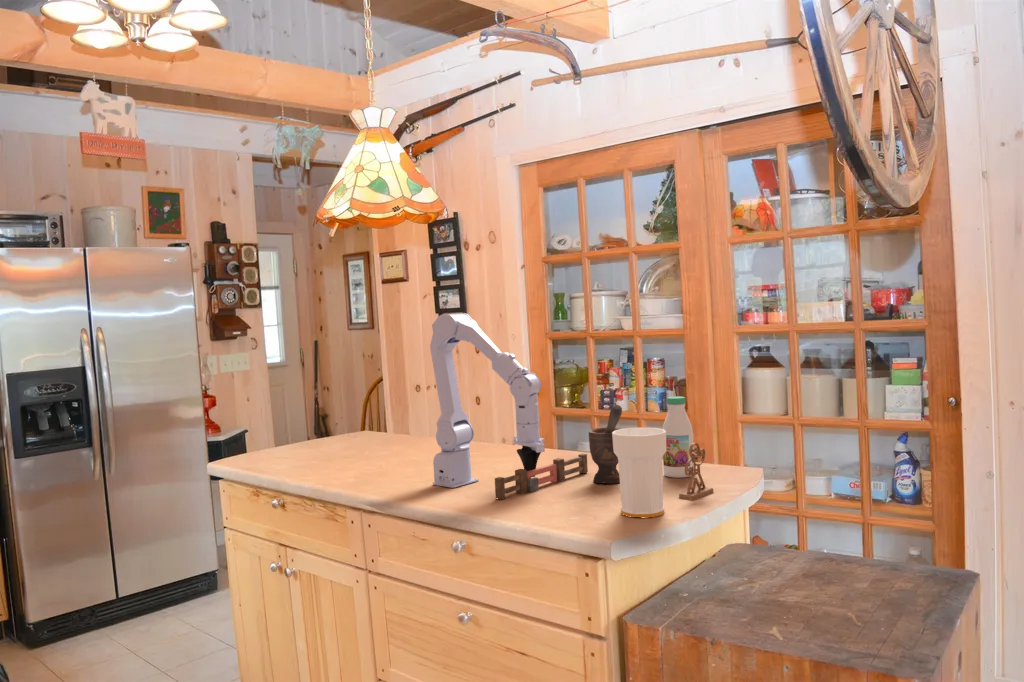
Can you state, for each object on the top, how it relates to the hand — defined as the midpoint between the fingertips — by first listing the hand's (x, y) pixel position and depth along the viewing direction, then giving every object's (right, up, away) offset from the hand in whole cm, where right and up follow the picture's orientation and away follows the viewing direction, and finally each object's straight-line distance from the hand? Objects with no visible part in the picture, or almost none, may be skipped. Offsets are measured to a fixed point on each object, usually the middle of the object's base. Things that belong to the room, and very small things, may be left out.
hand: (530, 476), depth 199 cm
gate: (+3, -2, 0) cm, 3 cm away
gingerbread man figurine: (+38, -2, -16) cm, 41 cm away
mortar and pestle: (+21, -2, +1) cm, 21 cm away
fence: (+4, -2, +1) cm, 5 cm away
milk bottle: (+38, -1, +5) cm, 38 cm away
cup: (+23, -3, -29) cm, 37 cm away
